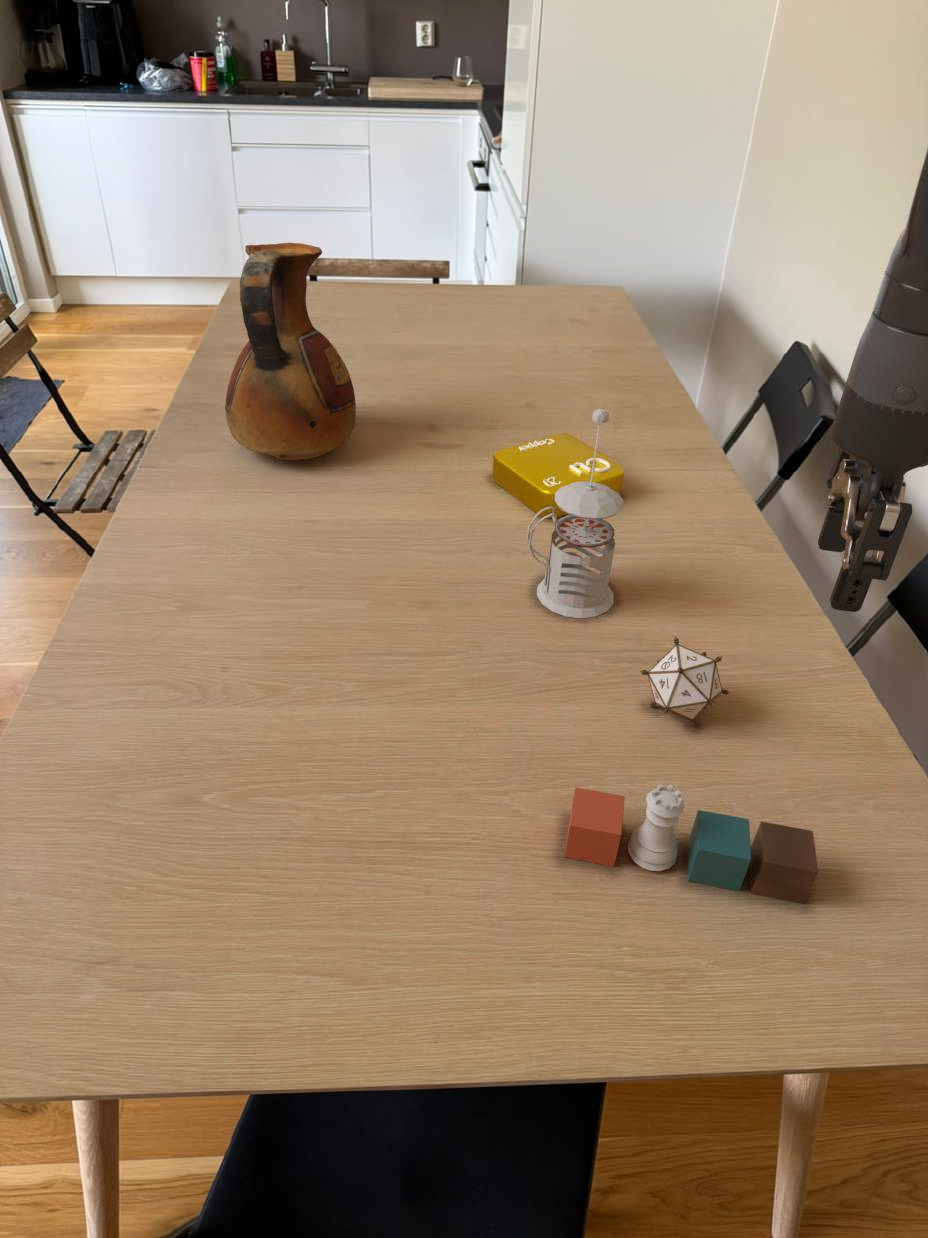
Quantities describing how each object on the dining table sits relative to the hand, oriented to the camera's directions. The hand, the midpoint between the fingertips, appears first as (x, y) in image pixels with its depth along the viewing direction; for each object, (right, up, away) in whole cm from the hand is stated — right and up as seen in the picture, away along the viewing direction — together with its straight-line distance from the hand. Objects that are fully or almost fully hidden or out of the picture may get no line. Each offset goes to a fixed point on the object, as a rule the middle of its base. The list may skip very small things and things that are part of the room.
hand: (836, 576), depth 71 cm
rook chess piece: (-13, -25, +10) cm, 30 cm away
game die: (-7, -13, +25) cm, 29 cm away
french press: (-17, 0, +41) cm, 44 cm away
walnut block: (-2, -27, +8) cm, 28 cm away
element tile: (-16, +16, +63) cm, 67 cm away
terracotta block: (-18, -24, +10) cm, 32 cm away
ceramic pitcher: (-57, +24, +70) cm, 93 cm away
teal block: (-7, -26, +9) cm, 28 cm away
